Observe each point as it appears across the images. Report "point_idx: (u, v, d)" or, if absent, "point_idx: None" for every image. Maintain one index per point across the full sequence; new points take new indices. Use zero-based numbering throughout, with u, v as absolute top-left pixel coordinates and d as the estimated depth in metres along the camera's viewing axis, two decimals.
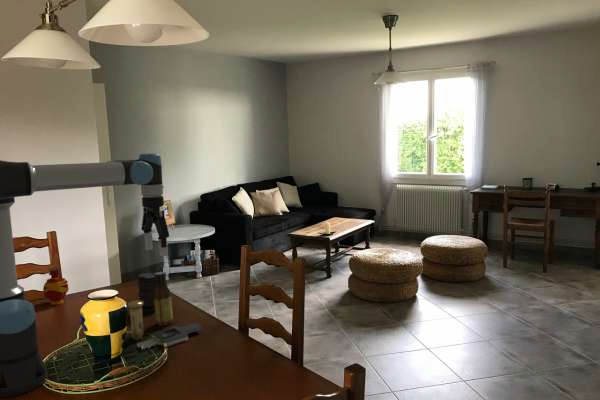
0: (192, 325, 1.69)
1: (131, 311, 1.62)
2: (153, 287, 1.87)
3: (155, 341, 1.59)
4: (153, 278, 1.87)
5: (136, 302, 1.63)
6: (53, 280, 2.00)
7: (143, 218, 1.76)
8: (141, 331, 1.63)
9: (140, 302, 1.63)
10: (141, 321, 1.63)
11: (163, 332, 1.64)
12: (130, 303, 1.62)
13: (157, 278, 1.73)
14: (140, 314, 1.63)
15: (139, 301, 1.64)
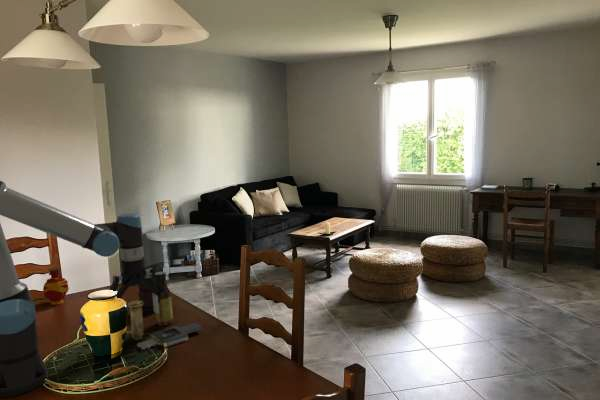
0: (192, 325, 1.69)
1: (131, 311, 1.62)
2: None
3: (155, 341, 1.59)
4: None
5: (136, 302, 1.63)
6: (53, 280, 2.00)
7: None
8: (141, 331, 1.63)
9: (140, 302, 1.63)
10: (141, 321, 1.63)
11: (163, 332, 1.64)
12: (130, 303, 1.62)
13: None
14: (140, 314, 1.63)
15: (139, 301, 1.64)
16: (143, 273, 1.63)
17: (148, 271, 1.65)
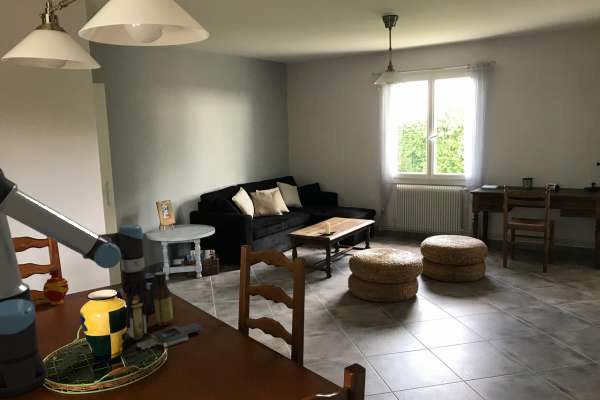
0: (192, 325, 1.69)
1: (131, 311, 1.62)
2: None
3: (155, 341, 1.59)
4: (153, 278, 1.87)
5: (136, 302, 1.63)
6: (53, 280, 2.00)
7: None
8: (141, 331, 1.63)
9: (140, 302, 1.63)
10: (141, 321, 1.63)
11: (163, 332, 1.64)
12: None
13: (157, 278, 1.73)
14: (140, 314, 1.63)
15: (139, 301, 1.64)
16: (143, 284, 1.63)
17: (148, 285, 1.65)
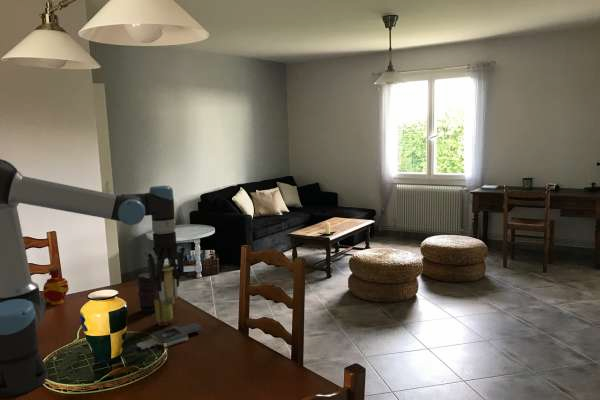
0: (192, 325, 1.69)
1: (162, 274, 1.58)
2: (153, 287, 1.87)
3: (155, 341, 1.59)
4: None
5: (167, 266, 1.60)
6: (53, 280, 2.00)
7: None
8: (172, 295, 1.60)
9: (171, 266, 1.60)
10: (172, 285, 1.60)
11: (163, 332, 1.64)
12: None
13: None
14: (171, 278, 1.59)
15: (170, 265, 1.61)
16: (174, 246, 1.60)
17: (179, 248, 1.62)
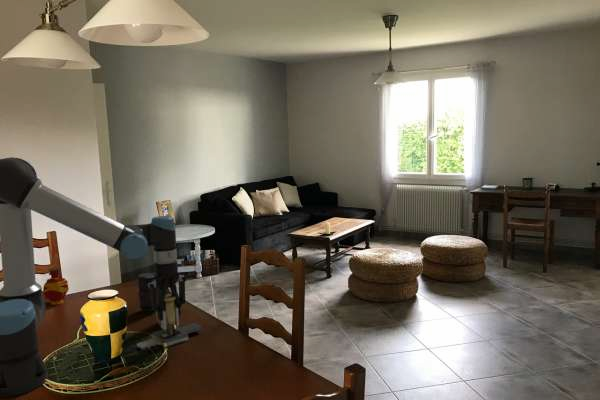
0: (192, 325, 1.69)
1: None
2: None
3: (155, 341, 1.59)
4: (153, 278, 1.87)
5: (168, 296, 1.61)
6: (53, 280, 2.00)
7: None
8: (174, 325, 1.61)
9: (173, 296, 1.61)
10: (174, 315, 1.61)
11: (163, 332, 1.64)
12: None
13: None
14: (173, 308, 1.61)
15: (171, 295, 1.62)
16: (176, 276, 1.61)
17: (180, 277, 1.63)
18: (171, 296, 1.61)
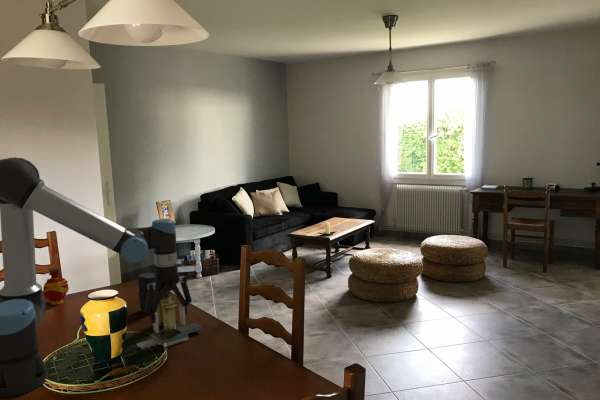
0: (192, 325, 1.69)
1: (164, 311, 1.60)
2: None
3: (155, 341, 1.59)
4: (153, 278, 1.87)
5: (170, 303, 1.62)
6: (53, 280, 2.00)
7: None
8: (174, 332, 1.62)
9: (174, 303, 1.62)
10: (174, 322, 1.62)
11: (163, 332, 1.64)
12: (164, 303, 1.61)
13: None
14: (174, 315, 1.61)
15: (173, 302, 1.63)
16: (176, 279, 1.61)
17: (181, 278, 1.63)
18: (172, 303, 1.61)
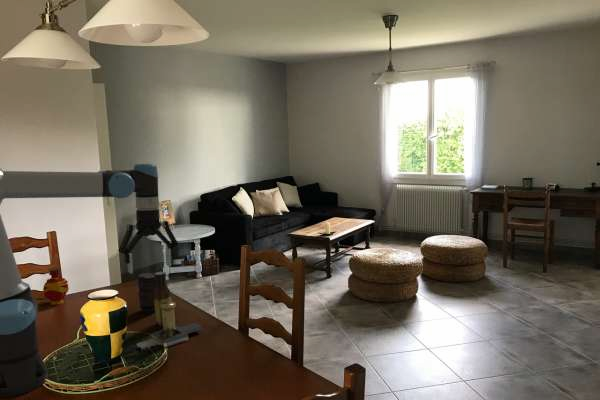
0: (192, 325, 1.69)
1: (163, 312, 1.60)
2: (153, 287, 1.87)
3: (155, 341, 1.59)
4: (153, 278, 1.87)
5: (168, 303, 1.61)
6: (53, 280, 2.00)
7: None
8: (173, 332, 1.61)
9: (172, 303, 1.61)
10: (173, 322, 1.61)
11: (163, 332, 1.64)
12: (162, 304, 1.61)
13: (157, 278, 1.73)
14: (173, 315, 1.61)
15: (171, 302, 1.62)
16: (157, 224, 1.62)
17: (162, 223, 1.63)
18: (171, 304, 1.61)
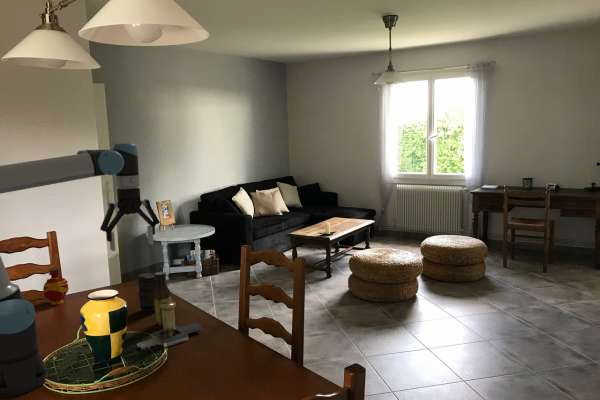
0: (192, 325, 1.69)
1: (163, 312, 1.60)
2: (153, 287, 1.87)
3: (155, 341, 1.59)
4: (153, 278, 1.87)
5: (168, 303, 1.61)
6: (53, 280, 2.00)
7: None
8: (173, 332, 1.61)
9: (172, 303, 1.61)
10: (173, 322, 1.61)
11: (163, 332, 1.64)
12: (162, 304, 1.61)
13: (157, 278, 1.73)
14: (173, 315, 1.61)
15: (171, 302, 1.62)
16: (138, 203, 1.65)
17: (143, 202, 1.66)
18: (171, 304, 1.61)
